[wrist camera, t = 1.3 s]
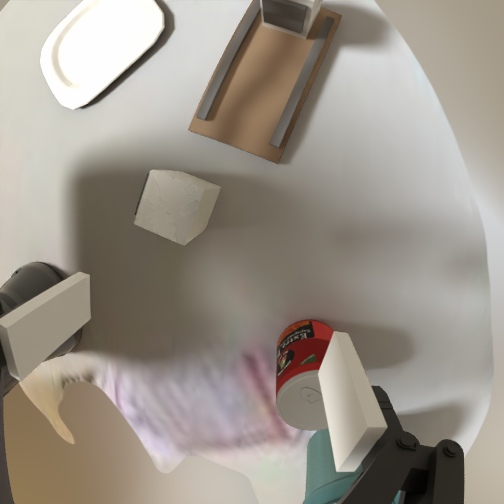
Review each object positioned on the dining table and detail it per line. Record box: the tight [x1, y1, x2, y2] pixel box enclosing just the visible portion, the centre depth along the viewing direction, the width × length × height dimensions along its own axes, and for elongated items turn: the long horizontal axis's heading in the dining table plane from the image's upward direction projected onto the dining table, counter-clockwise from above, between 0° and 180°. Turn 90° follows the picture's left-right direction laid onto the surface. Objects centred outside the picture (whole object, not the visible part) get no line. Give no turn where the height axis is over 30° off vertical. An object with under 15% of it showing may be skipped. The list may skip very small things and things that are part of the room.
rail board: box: [188, 0, 342, 164], centre depth 23 cm, size 10×20×9 cm, turn 158°
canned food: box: [276, 320, 334, 431], centre depth 29 cm, size 8×8×11 cm
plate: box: [40, 0, 165, 110], centre depth 26 cm, size 18×18×2 cm
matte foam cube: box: [134, 170, 222, 246], centre depth 27 cm, size 6×5×8 cm
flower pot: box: [303, 428, 401, 504], centre depth 31 cm, size 16×16×16 cm
